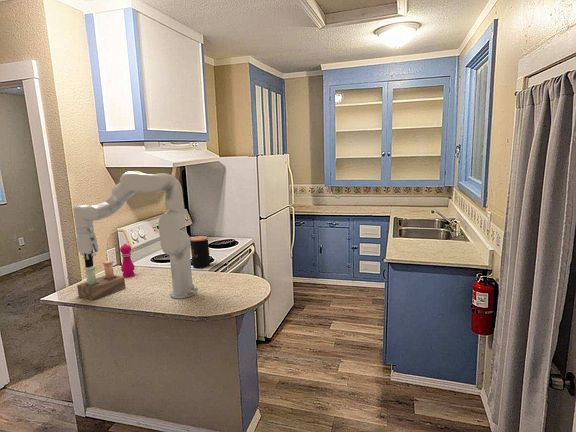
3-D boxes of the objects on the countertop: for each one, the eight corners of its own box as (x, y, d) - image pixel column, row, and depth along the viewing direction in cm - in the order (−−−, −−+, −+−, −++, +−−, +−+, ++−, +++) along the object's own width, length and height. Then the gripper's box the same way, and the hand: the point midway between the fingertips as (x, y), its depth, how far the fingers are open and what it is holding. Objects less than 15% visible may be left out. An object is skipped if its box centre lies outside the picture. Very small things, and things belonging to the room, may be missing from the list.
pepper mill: (119, 276, 213) (115, 243, 210) (129, 273, 219) (125, 240, 216) (127, 278, 210) (123, 244, 207) (138, 274, 216) (134, 241, 213)
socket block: (125, 287, 194) (124, 276, 193) (93, 300, 178) (92, 288, 177) (110, 284, 200) (109, 274, 199) (78, 296, 184) (77, 285, 183)
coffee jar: (191, 265, 230) (188, 237, 227) (208, 262, 235) (205, 235, 232) (194, 269, 221) (191, 240, 218) (211, 267, 225) (209, 238, 222)
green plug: (99, 286, 185) (97, 265, 183) (91, 289, 181) (88, 268, 179) (93, 284, 187) (91, 264, 185) (84, 287, 183) (82, 267, 181)
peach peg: (117, 279, 194) (114, 260, 192) (109, 282, 189) (106, 263, 188) (111, 278, 196) (108, 259, 194) (103, 281, 192) (100, 262, 190)
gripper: (101, 229, 179) (106, 266, 182) (82, 227, 186) (87, 262, 189) (87, 232, 173) (92, 270, 176) (68, 230, 179) (72, 267, 182)
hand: (89, 266), depth 182 cm, fingers closed
